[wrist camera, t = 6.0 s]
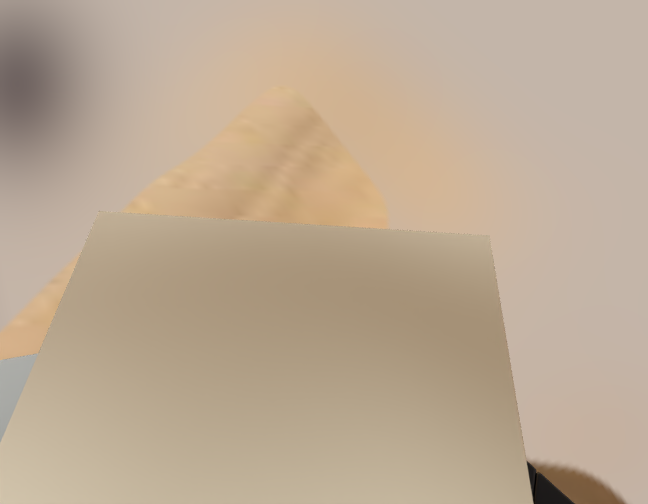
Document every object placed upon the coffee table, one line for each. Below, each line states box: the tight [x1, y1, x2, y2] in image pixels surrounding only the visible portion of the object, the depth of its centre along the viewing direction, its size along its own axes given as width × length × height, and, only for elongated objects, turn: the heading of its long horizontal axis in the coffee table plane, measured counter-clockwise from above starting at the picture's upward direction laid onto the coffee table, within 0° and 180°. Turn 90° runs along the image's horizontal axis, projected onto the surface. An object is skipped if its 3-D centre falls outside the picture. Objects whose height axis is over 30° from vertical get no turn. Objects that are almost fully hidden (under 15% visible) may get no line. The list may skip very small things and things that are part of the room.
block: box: [0, 211, 533, 504], centre depth 8 cm, size 4×4×12 cm
